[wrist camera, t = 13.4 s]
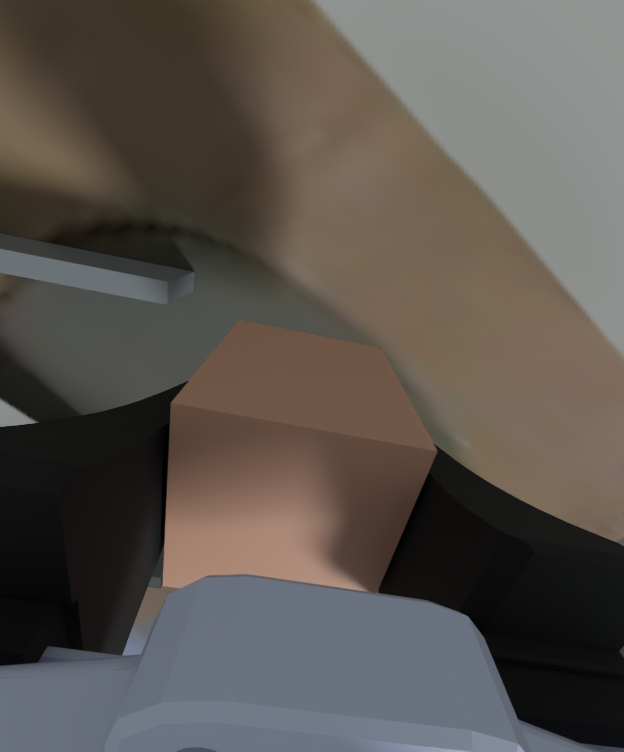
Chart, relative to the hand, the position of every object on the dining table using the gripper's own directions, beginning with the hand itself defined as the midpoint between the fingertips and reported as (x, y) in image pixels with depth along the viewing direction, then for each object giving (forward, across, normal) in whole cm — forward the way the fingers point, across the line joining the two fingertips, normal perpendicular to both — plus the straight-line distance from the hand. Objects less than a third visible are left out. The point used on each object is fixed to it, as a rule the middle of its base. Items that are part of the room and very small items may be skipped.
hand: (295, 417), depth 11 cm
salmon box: (+1, 0, 0) cm, 1 cm away
